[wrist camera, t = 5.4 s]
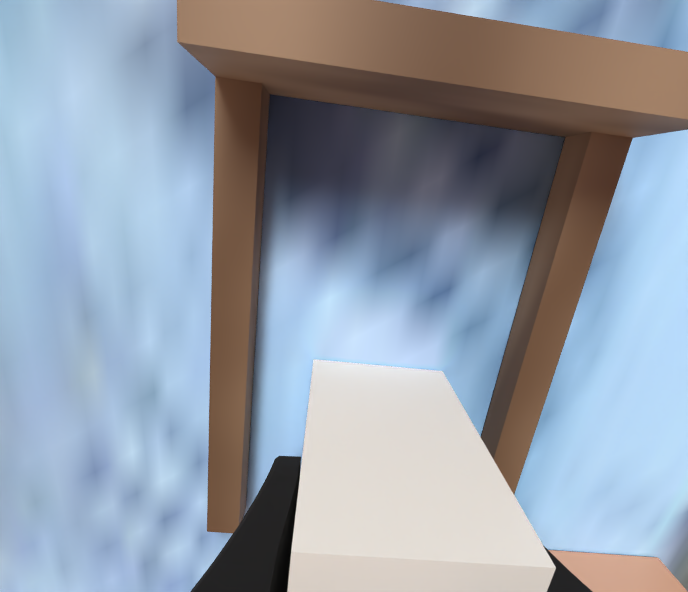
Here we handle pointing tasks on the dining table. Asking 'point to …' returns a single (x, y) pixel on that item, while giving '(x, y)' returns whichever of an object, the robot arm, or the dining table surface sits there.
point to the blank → (404, 492)
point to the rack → (428, 101)
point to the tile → (619, 572)
